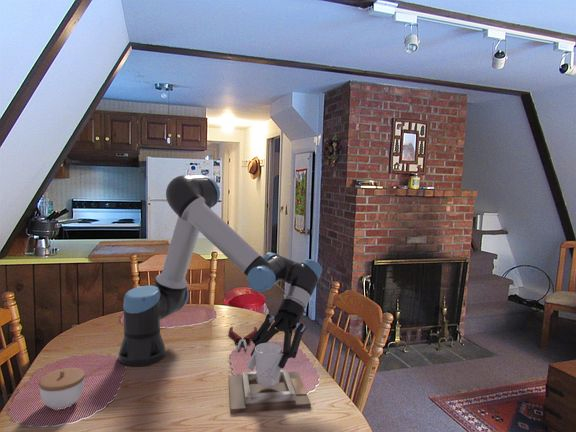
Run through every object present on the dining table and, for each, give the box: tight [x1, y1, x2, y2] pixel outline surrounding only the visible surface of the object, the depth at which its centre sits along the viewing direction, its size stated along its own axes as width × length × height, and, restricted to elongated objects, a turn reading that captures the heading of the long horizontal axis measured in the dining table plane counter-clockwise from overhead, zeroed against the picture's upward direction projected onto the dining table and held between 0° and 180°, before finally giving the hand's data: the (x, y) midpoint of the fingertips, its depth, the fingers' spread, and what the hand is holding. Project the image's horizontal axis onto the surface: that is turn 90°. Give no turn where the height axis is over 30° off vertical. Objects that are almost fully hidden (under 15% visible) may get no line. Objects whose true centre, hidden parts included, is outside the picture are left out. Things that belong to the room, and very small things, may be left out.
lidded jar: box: [38, 367, 85, 409], centre depth 109 cm, size 11×11×9 cm
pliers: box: [228, 326, 258, 351], centre depth 154 cm, size 12×20×3 cm, turn 5°
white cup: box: [254, 342, 283, 386], centre depth 118 cm, size 8×8×10 cm
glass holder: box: [228, 369, 312, 414], centre depth 118 cm, size 22×18×3 cm
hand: (261, 372), depth 115 cm, fingers closed on white cup, 8 cm apart
